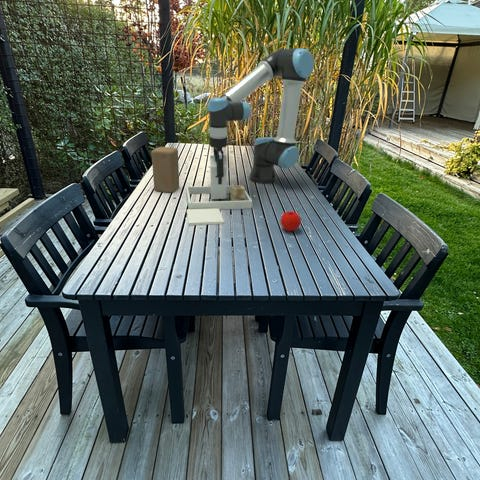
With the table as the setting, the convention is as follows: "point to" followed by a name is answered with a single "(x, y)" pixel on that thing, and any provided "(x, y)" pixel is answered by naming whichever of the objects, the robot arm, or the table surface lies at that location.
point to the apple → (290, 221)
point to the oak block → (237, 193)
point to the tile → (204, 216)
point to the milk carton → (213, 171)
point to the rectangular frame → (216, 204)
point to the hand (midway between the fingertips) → (218, 187)
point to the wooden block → (165, 169)
